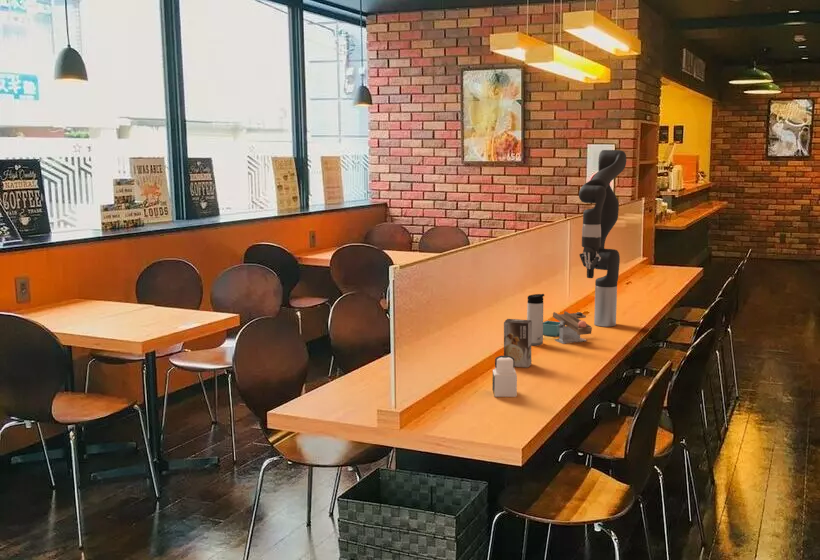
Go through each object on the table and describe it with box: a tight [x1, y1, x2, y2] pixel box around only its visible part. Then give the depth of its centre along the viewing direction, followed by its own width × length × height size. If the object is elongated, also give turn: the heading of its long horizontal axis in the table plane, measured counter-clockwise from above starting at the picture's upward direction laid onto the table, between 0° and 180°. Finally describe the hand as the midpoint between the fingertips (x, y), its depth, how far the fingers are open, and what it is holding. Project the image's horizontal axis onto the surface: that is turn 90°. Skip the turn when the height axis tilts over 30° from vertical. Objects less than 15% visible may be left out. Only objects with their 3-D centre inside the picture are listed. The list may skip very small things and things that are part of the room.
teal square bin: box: [543, 320, 560, 338], centre depth 355 cm, size 8×8×5 cm
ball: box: [578, 320, 587, 328], centre depth 334 cm, size 3×3×3 cm
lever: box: [552, 310, 593, 336], centre depth 342 cm, size 13×19×3 cm
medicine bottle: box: [492, 355, 518, 398], centre depth 270 cm, size 7×7×12 cm
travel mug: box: [526, 293, 545, 347], centre depth 336 cm, size 6×7×20 cm
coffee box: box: [503, 318, 532, 368], centre depth 305 cm, size 9×6×16 cm
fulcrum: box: [554, 320, 587, 345], centre depth 342 cm, size 11×6×8 cm, turn 113°
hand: (590, 277), depth 347 cm, fingers closed
